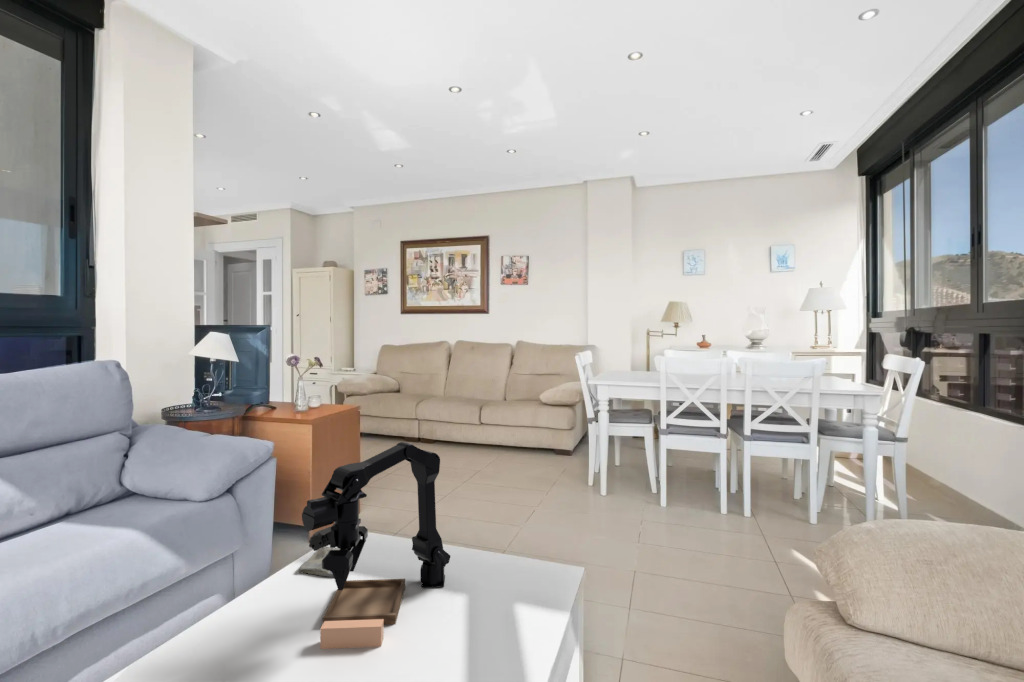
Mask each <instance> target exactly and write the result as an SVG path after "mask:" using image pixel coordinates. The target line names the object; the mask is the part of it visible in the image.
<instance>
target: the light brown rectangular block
mask: <svg viewBox="0 0 1024 682" xmlns="http://www.w3.org/2000/svg"><path fill="white" fill-rule="evenodd" d="M384 627H385V626H384V619H370V620H342V621H324V623H323V622H322V625H321V627H320V631H319V632H320V633H319V634H320V635H319V636H320V648H319V649H320V650H329V649H330V650H331V649H349V648H350V649H351V648H352V649H354V648H358V649H359V648H381V647H382V645H383V641H384V638H385V637H384V636H385V635H384V633H385V632H384Z"/></svg>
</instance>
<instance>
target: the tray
mask: <svg viewBox="0 0 1024 682" xmlns="http://www.w3.org/2000/svg"><path fill="white" fill-rule="evenodd" d="M405 588H406V578H388V579H387V578H383V579H355V580H351V579H350V580H346V583H345V586H344V588H343V590H338V588H337V590H336V591H335V594H333V597H332V599H331V601H330V603H329V605H328V606H327V609H326V611H325V613H324V614H323V617H322V624H323V623H324V621H342V620H370V619H384V625H396V623H397V620H398V616H399V612H400V609H401V604H402V600H403V596H404V593H405V590H406V589H405Z"/></svg>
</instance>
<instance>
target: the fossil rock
mask: <svg viewBox="0 0 1024 682" xmlns="http://www.w3.org/2000/svg"><path fill="white" fill-rule="evenodd" d="M330 550H340V549H339V548H337V547H335V548H330V546H325V547H323V548H320V549H318V550H317V551H315V553H314V554H312V555H311V556H310V557H309V558H308V559H307V560H306V561H304V562H303V563H302V564H301V565H300V566H299V567H298V573H301V572H303V573H302V574H306V573H308V574H307V575H315V576H316V575H317V576H318V577H319V576H320V577H328V578H334V576H333V573H332V572H331V571H330V570H326V569H322V560H323V558H324V557H325V556H326V554H327V553H328V552H329V551H330Z"/></svg>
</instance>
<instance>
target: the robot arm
mask: <svg viewBox="0 0 1024 682" xmlns="http://www.w3.org/2000/svg"><path fill="white" fill-rule="evenodd" d="M440 457H441V456H440V455H438V453H436V452H432V451H428V450H425V449H421V448H418V447H417V446H415V445H414V444H412V443H410V442H409V443H408V442H404V441H400V442H398V443H397V444H396V445H393V446H392V447H390V448H387V449H386V450H384V451H382V452H379V453H378V454H376V455H374V456H372V457H369V458H368V459H366V460H363V461H359V462H352V463H348V464H344V465H340V466H338V467H337V468H335V469H334V470H333V473H332V475H331V478H330V480H329V481H328V483H327V484H326V486H325V488H324V489H323V491H322V493H321V496H322V497H319V498H315V499H314V498H313V499H308V500H307V501H306V506H304V508H303V510H302V513H301V520H302V525H303V526H304V528H305V530H306V531H308V532H311V531H315V530H317V529H320V528H323V527H326V526H329V525H331V526H329V527H326V528H323V529H321V530H318V531H316V532H314V533H313V534H312V536H311V537H309V541H308V542H309V545H308V547H309V548H311V550H313V551H314V552H316V551H317V550H318V549H320V548H323V547H325V546H326V547H330V548H339V549H340V550H330V551H329V552H328V553H327V554H326V556H325V557H324V558H323V560H322V569H326V570H330V571H331V572H332V573H333V576H334V577H333V578H334V582H335V585H336V587H337V589H338V590H343V588H344V586H345V583H346V581H348V578H349V574H350V572H354V571H355V569H356V566H357V563H358V561H359V559H360V556H361V553H362V551H363V549H364V547H365V544H366V541H367V538H368V537H369V536H368V535H369V532H368V530H369V529H368V528H366V526H362V525H361V526H360V524H361V523H362V522H361V521H362V519H361V518H360V500H361V499H363V498H367V497H368V496H367V495H368V494H366V493H365V492H364V491H363V490H362V489H363V488H365V486H367V485H368V483H369V482H370V481H371V479H373V478H374V477H375V476H378V475H379V474H381V473H383V472H385V471H387V470H389V469H391V468H392V467H395V466H396V465H398V464H400V463H402V462H403V461H407V462H409V463H410V468H411V472H412V475H413V476H414V479H415V480H416V483H417V506H418V531H417V533H416V535H415V536H412V537H411V541H412V548H411V550H412V551H413V553H414V555H415V556H416V557H417V559H418V560H419V561H422V564H421V565H420V570H419V571H420V575H419V576H420V577H419V580H420V581H419V582H420V583H421V588H422V589H424V588H427V589H428V588H443V587H445V581H446V580H445V579H446V574H445V567H446V565H448V564H449V563H450V560H451V555H450V554H449V553H448V552H447V551H446V550H445V549H444V546H443V541H442V540H443V538H442V537H441V535H440V533H439V532H438V529H437V514H436V513H437V511H436V510H437V508H436V486H435V485H436V483H435V482H436V479H437V478H438V476H439V473H440V467H441V458H440ZM336 490H338V491H341V492H337V491H336ZM332 524H333V525H332ZM361 537H362V538H361Z"/></svg>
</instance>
